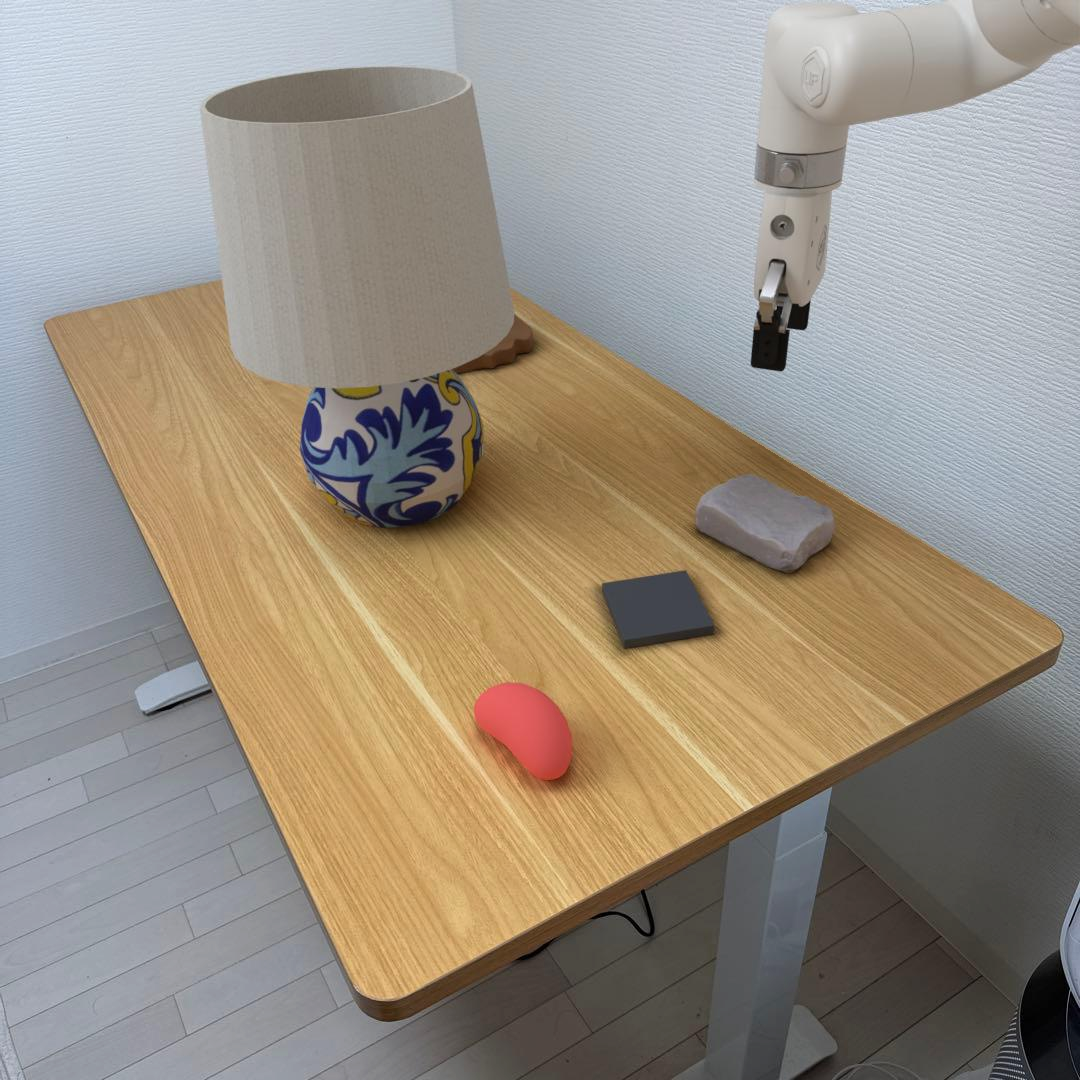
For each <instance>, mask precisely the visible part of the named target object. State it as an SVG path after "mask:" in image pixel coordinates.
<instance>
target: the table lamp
mask: <svg viewBox="0 0 1080 1080" xmlns="http://www.w3.org/2000/svg"><path fill="white" fill-rule="evenodd" d="M472 82H473V81H472V80H471V79H470V78H469V76H467V75H465V74H463V73H461V72H457V71H453V70H450V69H444V68H438V67H432V66H431V67H430V66H418V65H361V66H345V67H343V66H342V67H334V68H321V69H314V70H305V71H298V72H292V73H286V74H285V73H284V74H278V75H274V76H269V77H264V78H258V79H254V80H250V81H246V82H242V83H239V84H238V83H237V84H235V85H231V86H229V87H226V88H223V89H220V90H218V91H216V92H214V93H211V94H209V95H208V96H207V97H205V98H204V99H203V100H201V103H200V104H199V112H200V113H199V114H200V120H201V128H202V136H203V143H204V150H205V152H204V153H205V158H206V166H207V176H208V183H209V189H210V197H211V206H212V213H213V219H214V227H215V237H216V244H217V249H218V250H217V251H218V258H219V260H218V261H219V269H220V274H221V282H222V290H223V297H224V305H225V314H226V320H227V329H228V338H229V344H230V348H231V352H232V355H233V357H234V359H235V360H236V361H237V362H238V363H239V364H240V365H241V366H242V367H243V368H244V369H245V370H248V371H249V372H252V373H254V374H255V375H258V376H259V377H262V378H265V379H268V380H271V381H274V382H278V383H281V384H286V385H293V386H300V387H306V388H312V390H311V391H310V394H309V396H308V398H307V401H306V405H305V409H304V412H303V416H302V420H301V426H300V428H301V429H300V438H299V439H300V441H299V453H300V455H301V459H302V463H303V466H304V470H305V472H306V474H307V477H308V479H309V481H310V482H311V483H312V484H313V486H315V488H316V489H317V490H318V491H319V493H320V494H321V495H322V496H323V497H324V499H325V500H326V501H327V502H328V503H329V504H330V505H331V506H333V507H334V508H335V509H337V510H338V511H339V512H340V513H342V514H343V515H345V516H346V517H347V518H349V519H351V520H352V521H354V522H356V523H359V524H360V525H361V524H362V525H364V526H365V525H366V526H370V527H374V528H386V529H388V528H389V529H391V528H393V529H395V528H405V527H411V526H412V527H413V526H416V525H420V524H423V523H426V522H429V521H432V520H434V519H436V518H439V517H441V516H442V515H444V514H446V513H447V512H449V511H450V510H451V509H452V508H454V507H455V506H456V505H457V504H458V503H459V501H460V500H461V499H462V497H463V496H464V494H465V493H466V491H467V490H468V488H470V486H471V484H472V483H473V481H474V479H475V477H476V474H477V472H478V470H479V467H480V464H481V461H482V459H483V456H484V452H485V428H484V422H483V420H482V417H481V414H480V411H479V408H478V406H477V404H476V402H475V399H474V397H473V395H472V394H471V392H470V391H469V389H468V388H467V386H466V384H465V383H464V382H463V380H462V378H461V377H460V376H459V375H458V373H455V372H454V371H453V368H456V367H458V366H460V365H463V364H465V363H467V362H469V361H471V360H474V359H476V358H478V357H480V356H481V355H483V354H484V353H486V352H487V351H489V350H491V349H492V348H494V347H495V346H496V345H497V344H498V343H499V342H500V341H502V340H503V339H504V338H505V337H506V336H507V335H508V333H509V331H510V329H511V327H512V325H513V323H514V314H515V308H514V303H513V297H512V291H511V286H510V281H509V276H508V270H507V264H506V259H505V254H504V253H505V252H504V249H503V248H504V247H503V243H502V238H501V232H500V227H499V226H500V225H499V222H498V216H497V210H496V205H495V199H494V194H493V188H492V184H491V177H490V173H489V168H488V162H487V157H486V151H485V146H484V141H483V136H482V129H481V124H480V119H479V114H478V108H477V104H476V97H475V93H474V92H475V91H474V88H473V87H474V86H473V83H472Z"/></svg>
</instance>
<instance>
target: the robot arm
mask: <svg viewBox="0 0 1080 1080" xmlns="http://www.w3.org/2000/svg"><path fill="white" fill-rule="evenodd" d="M764 39H765V40H764V52H763V62H762V63H763V64H762V73H761V74H762V76H761V88H760V89H761V90H760V101H759V113H758V114H759V115H758V126H757V128H758V129H757V140H756V148H755V150H756V151H755V161H754V175H753V184H754V186H755V187H757V188H758V189H760V190H763V197H762V205H761V212H760V219H759V220H760V221H759V228H758V238H757V244H756V245H757V247H756V256H755V266H754V267H755V268H754V279H753V280H754V282H753V296H754V298H755V299H756V300H757V301H758V306H757V311H756V313H755V320H754V324H753V331H752V343H751V356H750V366H751V367H752V368H753V369H760V370H767V371H774V372H783V371H785V369H786V367H787V359H788V351H789V350H788V349H789V341H790V334H791V333H790V332H791V330H794V331H795V330H797V331H805V330H806V329H807V328H808V326H809V318H810V310H811V302H812V298H813V296H814V294H815V293H816V291H817V290H818V288H819V286H820V284H821V282H822V280H823V279H824V276H825V273H826V272H825V271H826V268H827V267H826V266H827V255H828V243H829V233H830V222H831V211H832V210H831V209H832V194H833V193H832V192H833V191H834V190H837V189H839V188H840V187H841V185H842V182H843V181H842V180H843V174H844V168H845V160H846V153H847V152H846V151H847V144H848V136H849V131H850V130H849V129H850V126H855V125H861V124H866V123H873V122H879V121H882V120H886V119H891V118H898V117H903V116H909V115H915V114H922V113H927V112H934V111H939V110H943V109H946V108H949V107H950V108H951V107H953V106H955V105H959V104H962V103H965V102H966V101H969V100H971V99H974V98H977V97H980V96H982V95H984V94H988V93H989V92H992V91H994V90H997V89H999V88H1002V87H1005V86H1006V85H1009V84H1012V83H1014V82H1016V81H1019V80H1021V79H1022V78H1024V77H1026V76H1028V75H1030V74H1032V73H1033V72H1035V71H1037V70H1038V69H1039V68H1041V67H1042V66H1043V65H1045V64H1046V63H1047V62H1048V61H1049V60H1050V59H1051V58H1052V57H1054V56H1055V55H1058V54H1060V53H1061V52H1064V51H1067V50H1069V49H1071V48H1074V47H1077V46H1078V45H1080V0H946V1H942V2H939V3H933V4H932V3H931V4H923V5H913V6H906V7H899V8H892V9H891V8H890V9H884V10H878V11H876V12H875V11H874V12H865V13H859V11H858V10H857V9H856V8H855V7H853V6H851V5H849V4H846V3H840V2H829V1H810V2H808V1H807V2H799V3H793V4H792V3H791V4H787V5H784V6H782V7H779V8H777V9H776V10H774V12H773V13H772V14H771V15H770V17H769V19H768V21H767V25H766V31H765V37H764Z"/></svg>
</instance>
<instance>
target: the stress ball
mask: <svg viewBox="0 0 1080 1080" xmlns="http://www.w3.org/2000/svg"><path fill="white" fill-rule="evenodd" d="M473 714H474V718H475V721H476V723H477V724H478V726H479V727H480V728H481V729H482V730H483V731H484V732H485V733H487V734H489V736H491V737H492V738H493V739H495V740H496V741H498V742H499V743H501V744H503V745H504V746H505V747H506V748H507V749H508V750H509V751H510V753H512V754H513V756H514V757H515V758H516V759H517V760H518V761H519V762H520V763H521V764H522V766H523V767H524V768H525V770H527V771H528V772H529V773H530V774H531V775H533V777H536V778H538V779H540V780H545V781H550V780H551V781H552V780H555V779H558V778H560V777H562V776H563V775H564V774H565V773H566V772H567V770H568V768H569V766H570V763H571V759H572V754H573V735H572V732H571V729H570V725H569V723H568V720H567V718H566V716H565V715H564V713H563V711H562V710H561V709H560V707H559V706H558V705H557V704H556V702H555V701H554V700H553V699H551V697H549V695H547V694H546V693H545V692H543V691H541V690H540V689H539V688H536V687H534V686H531V685H528V684H526V683H523V682H509V681H508V682H507V681H506V682H502V683H499V684H495V685H493V686H491V687H489V688H487V689H486V690H485V691H483V692H482V693H481V694H480V695H479V696H478V697H477V699H476V701H475V703H474V707H473Z"/></svg>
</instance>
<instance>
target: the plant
mask: <svg viewBox="0 0 1080 1080" xmlns="http://www.w3.org/2000/svg"><path fill="white" fill-rule="evenodd" d="M533 333H534V332H533V328H532V327H531V326H530V325H529V324H527V323H526V322H525V321H524V320H522V319H521V318H520V317H519V316H518V315H517V314H516V313H514V323H513V325H512V327H511V329H510V331H509V333H508V335H507V336H506V337H505V338H504V339H503V340H502V341H500V342H499V343H498V344H497V345H496V346H495V347H494V348H492V349H491V350H489V351H487V352H486V353H484V354H483V355H481V356H480V357H478V358H476V359H474V360H471V361H469V362H467V363H465V364H463V365H460V366H458V367H456V368H453V371H454V372H455V373H456V374H462V373H468V372H472V371H475V370H479V369H494V368H496V367H497V366H499V365H500V366H501V365H506V364H512V363H513V362H514V361H515V359H516V356H517V355H519V354H520V355H521V354H528V353H529V352H530V351H531V350H532V349H533V346H534V334H533Z"/></svg>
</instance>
